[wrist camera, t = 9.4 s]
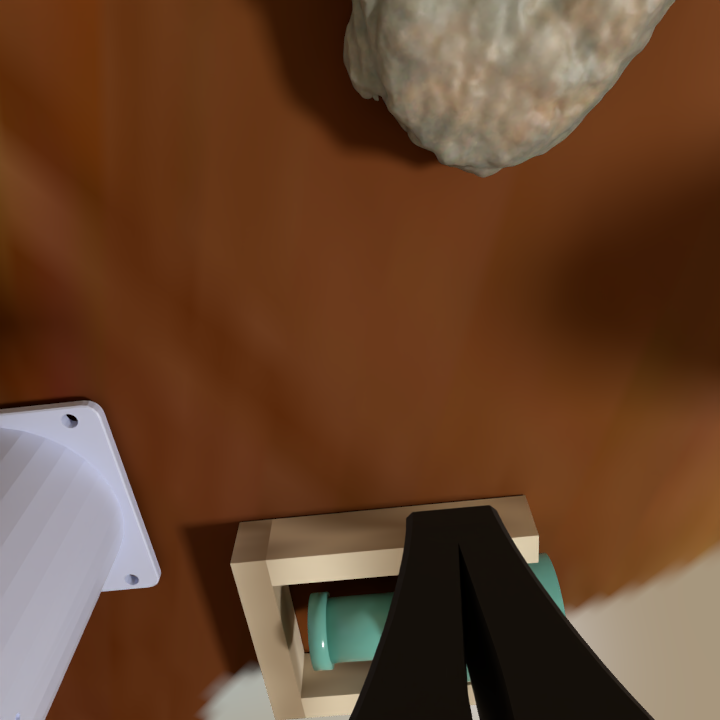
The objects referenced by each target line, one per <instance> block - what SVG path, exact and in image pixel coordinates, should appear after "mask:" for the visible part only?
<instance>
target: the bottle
mask: <svg viewBox="0 0 720 720" xmlns="http://www.w3.org/2000/svg"><path fill="white" fill-rule="evenodd" d="M528 565H529V566H530V568H531V569H532V571H533V572H534V574H535V575H536V577H537V578H538V580H539V581H540V582H541V584H542V585H543V587H544V588H545V589H546V591H547V592H548V593H549V595H550V596H551V598H552V599H553V600H554V602H555V603H556V604H557V606H558V607H559V608H560V610H561V611H562V612H563V614H564V615H565V610H564V605H563V600H562V595H561V591H560V587H559V583H558V580H557V576H556V573H555V570H554V567H553V565H552V562H551V560H550V558H549V556H548V555H547V554H546V553H539V561H538V563H528ZM393 594H394V592H386V593H374V594H362V595H350V596H338V597H331V595H330V593H329V592H316V593H311V594H310V597H309V604H308V640H309V650H310V657H311V663H312V666H313V669H314V671H324V670H333V668H334V664H335V663H346V662H358V661H371V660H373V657H374V654H375V652H376V649H377V646H378V643H379V640H380V637H381V635H382V632H383V629H384V626H385V622H386V619H387V616H388V612H389V608H390V605H391V601H392V598H393ZM565 617H566V616H565ZM466 665H467V664H466ZM467 682H471V681H470V676H469V672H468V668H467Z"/></svg>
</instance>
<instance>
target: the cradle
mask: <svg viewBox="0 0 720 720" xmlns="http://www.w3.org/2000/svg"><path fill="white" fill-rule="evenodd" d="M484 505H490V506H492V507H493V508H494V509H496V510H497V512H498V514H499V516H500V518H501V520H502V522H503V524H504V525H505V527H506V529H507V531H508V533H509V534H510V536H511V538H512V540H513V541H514V543H515V544H516V546H517V548H518V549H519V551H520V553H521V554H522V556H523V557H524V559H525V560H526V562H527V563H538V561H539V535H538V532H537V529H536V526H535V523H534V520H533V517H532V514H531V511H530V508H529V505H528V502H527V499H526V496H525V495H523V496H513V497H502V498H492V499H481V500H470V501H460V502H449V503H439V504H428V505H418V506H407V507H397V508H386V509H376V510H365V511H354V512H344V513H333V514H323V515H312V516H302V517H291V518H281V519H270V520H260V521H249V522H240V523H239V528H238V532H237V536H236V541H235V545H234V549H233V554H232V558H231V562H230V565H231V568H232V572H233V575H234V578H235V582H236V585H237V589H238V592H239V596H240V599H241V603H242V606H243V610H244V613H245V616H246V620H247V623H248V627H249V630H250V634H251V637H252V641H253V644H254V648H255V651H256V654H257V658H258V661H259V665H260V668H261V672H262V675H263V679H264V682H265V686H266V689H267V692H268V696H269V699H270V703H271V706H272V710H273V713H274V717H275V720H286V719H298V718H312V717H324V716H337V715H350V714H352V711H353V709H354V707H355V704H356V702H357V700H358V697H359V695H360V692H361V690H362V687H363V685H364V682H365V679H366V677H367V674H368V671H369V669H370V666H371V663H372V660H371V661H358V662H346V663H335V664H334V668H333V670H324V671H314V669H313V666H312V663H311V657H310V653H304V649H303V645H302V641H301V636H300V632H299V628H298V624H297V620H296V615H295V611H294V607H293V603H292V599H291V594H290V590H289V586H288V585H292V584H303V583H314V582H325V581H337V580H348V579H359V578H370V577H381V576H393V575H398V574H399V570H400V565H401V561H402V555H403V549H404V543H405V533H406V518H407V517H408V516H409V515H410V514H411V513H412V512H417V511H429V510H440V509H451V508H462V507H473V506H484ZM468 696H469V702H470V705H476V702H475V697H474V693H473V689H472V685H471V682H468Z"/></svg>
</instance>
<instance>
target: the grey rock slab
mask: <svg viewBox="0 0 720 720" xmlns="http://www.w3.org/2000/svg"><path fill="white" fill-rule="evenodd" d="M674 1H675V0H352V6H353V10H352V14H351V18H350V21H349V23H348V25H347V28H346V33H345V37H344V51H343V59H344V64H345V66H346V69H347V71H348V74H349V77H350V79H351V81H352V84H353V87H354V89H355V90H356V91H357V92H359V94H360V95H361V96H362V97H363V98H365V99H370V98H371V97H373V98H374V100H377V101H379V99H378V95H379V96H381V97H382V98H383V100H384V102H385V104H386V105H387V108H388V110H389V112H390V113H391V114H392V115H393V116H394V117H395V118H396V120H397V121H398V123H399V124H400V126H401V127H402V128H403V129H404V130H405V131H406V132H408V136H409V138H410V140H411V141H412V142H413V143H414V144H416V145H417V146H419V147H421V148H424V149H427V150H429V151H432V152H434V153H435V155H436V157H437V159H438V161H439V162H440V163H441V164H444V165H448V166H450V167H456V168H459V169H461V170H464V171H466V172H469V173H474V174H475V175H477V176H479V177H487V176H490V175H493V174H495V173H496V172H498V171H499V170H501V169H502V168H504V167H511V166H515V165H518V164H520V163H522V162H524V161H526V160H528V159H530V158H532V157H535V156H539V155H542V154H544V153H546V152H547V151H548V150H550V149H551V148H552V147H554V146H555V145H557V144H558V143H560V142H561V141H562V140H564V139H565V138H566V137H567V136H568V135H569V134H570V133H571V132H572V131H573V130H574V129H575V128H576V127H577V126H578V125H579V124H580V123H581V122H582V120H583V119H584V117H585V116H586V115H587V114H588V113H589V112H590V111H591V110H592V109H593V108H594V107H595V106H596V105H597V104H598V103H599V102H600V101H601V99H602V98H603V96H604V95H605V94H606V93H607V92H608V91H609V90H610V89H611V88H612V87H613V86H614V84H615V83H616V81H617V80H618V79H619V77H620V76H621V74H622V73H623V71H624V69H625V68H626V67H627V65H628V64H629V63H630V61H631V60H632V59H633V58H634V57H635V56H636V55H637V54H639V53H640V52H641V51H642V50H643V49H644V47H645V46H646V44H647V43H648V42H649V40H650V38H651V36H652V33H653V31H654V28H655V26H656V25H657V24H658V23H659V22H660V20H661V19H662V17H663V16H664V15H665V14H666V12H667V10H668V9H669V7H670V6H671V5H672V4H673V3H674Z"/></svg>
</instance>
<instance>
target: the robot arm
mask: <svg viewBox="0 0 720 720" xmlns="http://www.w3.org/2000/svg"><path fill="white" fill-rule="evenodd" d="M66 414H71V415H73V416H75V417H76V418H77V420H78V421H72V420H71V419H69V418H68V417H67V415H66ZM131 575H135V576H137V577H134V576H131ZM160 575H161V570H160V567H159V564H158V561H157V559H156V556H155V553H154V550H153V547H152V545H151V542H150V539H149V536H148V533H147V531H146V528H145V525H144V522H143V519H142V517H141V514H140V511H139V508H138V506H137V503H136V500H135V497H134V494H133V492H132V489H131V486H130V483H129V480H128V478H127V475H126V472H125V469H124V466H123V464H122V461H121V458H120V455H119V453H118V450H117V447H116V444H115V441H114V439H113V436H112V433H111V430H110V427H109V425H108V422H107V419H106V416H105V413H104V411H103V410H102V408H101V407H100V406H99V405H98V404H97V403H95V402H92V401H86V400H83V401H74V402H64V403H55V404H46V405H36V406H27V407H17V408H8V409H0V720H45V718H46V716H47V713H48V711H49V709H50V707H51V704H52V702H53V700H54V698H55V695H56V693H57V691H58V688H59V686H60V684H61V682H62V679H63V677H64V675H65V672H66V670H67V668H68V666H69V663H70V661H71V659H72V657H73V654H74V652H75V650H76V647H77V645H78V643H79V641H80V638H81V636H82V634H83V632H84V629H85V627H86V625H87V622H88V620H89V618H90V616H91V613H92V611H93V609H94V607H95V604H96V602H97V600H98V597H99V595H100V593H101V591H113V590H124V589H135V588H146V587H152V586H154V585H156V584H157V583H158V581H159V578H160ZM466 664H467V665H466ZM467 668H468V672H469V676H470V681H471V685H472V689H473V693H474V697H475V702H476V705H477V710H478V714H479V718H480V720H654V719H653V718H652V716H651V715H649V713H648V712H647V711H646V710H645V709H644V708H643V707H642V706H641V705H640V704H639V703H638V702H637V701H636V699H635V698H634V697H633V696H632V695H631V694H630V693H629V692H628V691H627V690H626V689H625V687H624V686H623V685H622V684H621V683H620V682H619V681H618V680H617V678H616V677H615V676H614V675H613V674H612V673H611V672H610V670H609V669H608V668H607V667H606V666H605V665H604V664H603V662H602V661H601V660H600V659H599V657H598V656H597V655H596V654H595V653H594V652H593V650H592V649H591V648H590V647H589V645H588V644H587V643H586V642H585V641H584V639H583V638H582V637H581V636H580V634H579V633H578V632H577V631H576V629H575V628H574V627H573V626H572V624H571V623H570V622H569V620H568V619H567V618H566V617H565V615H564V614H563V612H562V611H561V610H560V608H559V607H558V606H557V604H556V603H555V602H554V600H553V599H552V598H551V596H550V595H549V593H548V592H547V591H546V589H545V588H544V587H543V585H542V584H541V582H540V581H539V580H538V578H537V577H536V575H535V574H534V572H533V571H532V569H531V568H530V566H529V565H528V563H527V562H526V560H525V559H524V557H523V556H522V554H521V553H520V551H519V549H518V548H517V546H516V544H515V543H514V541H513V540H512V538H511V536H510V534H509V533H508V531H507V529H506V527H505V525H504V524H503V522H502V520H501V518H500V516H499V514H498V512H497V510H496V509H494V508H493V507H492V506H490V505H484V506H473V507H462V508H451V509H440V510H429V511H417V512H412V513H411V514H410V515H409V516H408V517H407V518H406V533H405V543H404V549H403V555H402V561H401V565H400V570H399V574H398V579H397V583H396V587H395V590H394V594H393V598H392V601H391V605H390V608H389V612H388V616H387V619H386V622H385V626H384V629H383V632H382V635H381V637H380V640H379V643H378V646H377V649H376V652H375V654H374V657H373V660H372V663H371V666H370V669H369V671H368V674H367V677H366V679H365V682H364V685H363V687H362V690H361V692H360V695H359V697H358V700H357V702H356V704H355V707H354V709H353V711H352V714H351V716H350V718H349V720H472V714H471V709H470V702H469V696H468V682H467Z"/></svg>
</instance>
